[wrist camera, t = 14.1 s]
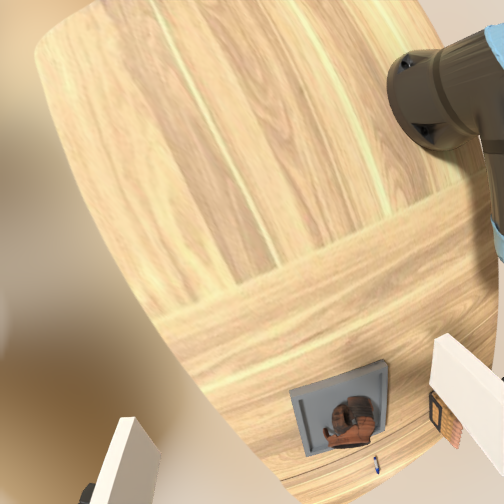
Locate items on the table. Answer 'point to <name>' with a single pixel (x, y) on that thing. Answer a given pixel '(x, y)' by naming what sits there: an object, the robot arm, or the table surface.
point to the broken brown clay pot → (351, 424)
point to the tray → (338, 403)
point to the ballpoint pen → (376, 465)
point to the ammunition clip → (444, 419)
